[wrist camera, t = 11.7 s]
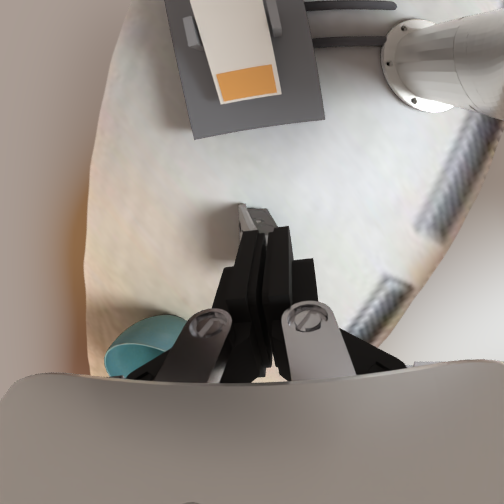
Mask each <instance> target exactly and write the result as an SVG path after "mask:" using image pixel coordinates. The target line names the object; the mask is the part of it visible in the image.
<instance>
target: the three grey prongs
mask: <svg viewBox="0 0 504 504" xmlns="http://www.w3.org/2000/svg"><path fill="white" fill-rule="evenodd" d="M304 5H305V10H306V11H313V10H330V9H383V10H395V9H396V8H397V5H396V4H395V3H394V2H391V1H371V0H334V1H314V2H304ZM386 41H387V37H375V36H361V37H331V38H316V39H312V43H313V48H321V47H337V46H383V45H384V43H385V42H386Z"/></svg>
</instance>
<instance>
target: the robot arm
mask: <svg viewBox="0 0 504 504" xmlns="http://www.w3.org/2000/svg"><path fill="white" fill-rule="evenodd" d="M401 28H403V31H402V30H401ZM386 37H387V41H386V42H385V43H384V45H383V46H382V48H381V64H382V69H383V72H384V76H385V78H386V80H387V82H388V84H389V86H390V87H391V89H392V90H393V92H394V93H395V94H396V95H397V96H398V97H399V98H400V99H401V100H402V101H404V102H405V103H406V104H408V105H409V106H411V107H413V108H415V109H418V110H421V111H425V112H429V113H438V112H443V111H446V110H449V109H451V108H452V107H458V108H462V109H466V110H470V111H473V112H477V113H480V114H484V115H487V116H490V117H494V118H497V119H500V120H504V8H502V9H497V10H493V11H489V12H485V13H480V14H475V15H472V16H467V17H462V18H458V19H454V20H450V21H447V22H443V23H439V24H436V23H433V22H431V21H427V20H423V19H411V20H407V21H404V22H401V23H399V24H398V25H396V26H395V27H393V28H392V29H391V30H390V31H389V32H388V34H387V35H386ZM387 62H388V63H389V66H387V64H386V63H387ZM411 99H413V102H411ZM272 354H273V356H274V361H275V366H276V367H278V369H279V374H280V375H281V376H282V377H283V378H285V379H286V380H287V382H267V383H251V382H252V381H253V380H255V379H256V378H257V377H265V374H266V368H269V367H271V366H272ZM0 504H504V362H503V361H495V360H485V359H476V360H459V361H448V362H414V365H413V366H412V365H409V366H408V365H405V364H404V363H403V362H402V361H400V360H399V359H397V358H396V357H394V356H392V355H390V354H388V353H386V352H384V351H382V350H380V349H378V348H376V347H375V346H373V345H371V344H369V343H367V342H365V341H363V340H361V339H359V338H357V337H355V336H354V335H352V334H350V333H348V332H346V331H344V330H342V329H340V328H339V327H338V324H337V321H336V319H335V316H334V314H333V312H332V310H331V309H330V307H328V306H327V305H326V304H324V303H321V302H318V295H317V286H316V278H315V270H314V262H313V258H311V259H301V260H294V259H293V252H292V244H291V237H290V230H289V226H285V227H276V228H274V231H273V232H269V233H268V241H267V243H266V237H265V233H259V230H251V231H243V234H242V237H241V241H240V245H239V249H238V253H237V256H236V260H235V264H234V267H225V268H224V270H223V273H222V276H221V279H220V283H219V286H218V289H217V293H216V296H215V299H214V303H213V306H212V309H206V310H202V311H200V312H198V313H196V314H194V315H193V316H192V317H190V318H189V320H188V321H187V322H186V324H185V325H184V327H183V329H182V331H181V332H180V334H179V336H178V338H177V340H176V341H175V343H174V345H173V347H172V348H170V349H169V350H167V351H165V352H164V353H162V354H160V355H159V356H157V357H155V358H154V359H152V360H151V361H149V362H147V363H146V364H144V365H142V366H141V367H139V368H137V369H136V370H134V371H133V372H131V373H130V374H129V375H128V376H127V377H126V378H125V377H124V376H123V375H120V376H111V377H100V376H91V375H81V374H80V375H79V374H70V373H42V374H35V375H31V376H28V377H25V378H22V379H20V380H18V381H17V382H15V383H14V384H13V385H12V386H11V387H10V388H9V390H8V391H7V392H6V394H5V395H4V396H3V398H2V399H1V401H0Z"/></svg>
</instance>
